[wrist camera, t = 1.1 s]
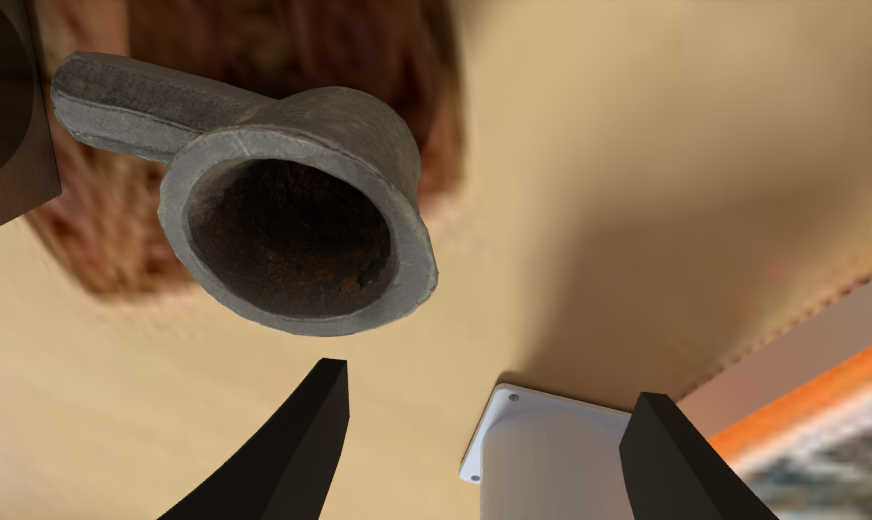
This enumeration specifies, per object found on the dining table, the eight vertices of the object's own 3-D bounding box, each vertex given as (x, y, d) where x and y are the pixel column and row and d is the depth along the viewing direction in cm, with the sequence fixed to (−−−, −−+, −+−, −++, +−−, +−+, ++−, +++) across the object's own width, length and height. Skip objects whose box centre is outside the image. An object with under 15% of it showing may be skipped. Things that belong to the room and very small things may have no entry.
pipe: (124, 0, 17) (-127, 17, 10) (475, 98, 17) (471, 179, 10) (138, 161, 20) (-43, 260, 13) (435, 238, 20) (411, 371, 14)
